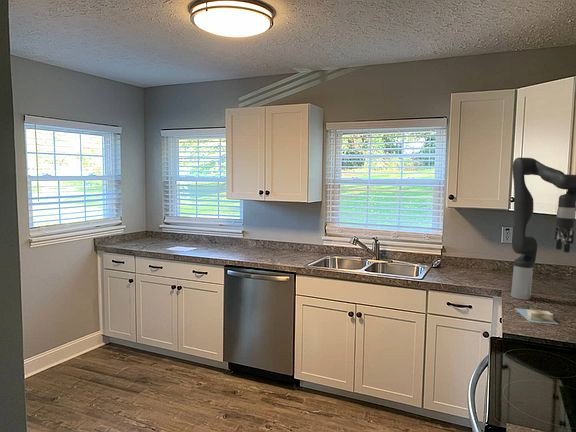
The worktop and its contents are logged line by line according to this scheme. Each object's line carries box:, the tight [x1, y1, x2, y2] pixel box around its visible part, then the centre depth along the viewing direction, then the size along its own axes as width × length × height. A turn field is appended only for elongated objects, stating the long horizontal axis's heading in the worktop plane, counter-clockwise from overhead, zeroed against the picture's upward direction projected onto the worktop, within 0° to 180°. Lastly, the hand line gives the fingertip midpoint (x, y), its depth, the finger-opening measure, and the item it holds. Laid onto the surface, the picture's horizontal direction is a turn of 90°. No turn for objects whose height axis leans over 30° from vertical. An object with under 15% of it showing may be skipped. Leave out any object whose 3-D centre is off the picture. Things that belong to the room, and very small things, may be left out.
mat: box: [514, 307, 559, 325], centre depth 205 cm, size 20×12×1 cm, turn 170°
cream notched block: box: [527, 309, 554, 322], centre depth 200 cm, size 9×5×3 cm, turn 80°
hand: (562, 250), depth 209 cm, fingers open, 8 cm apart
